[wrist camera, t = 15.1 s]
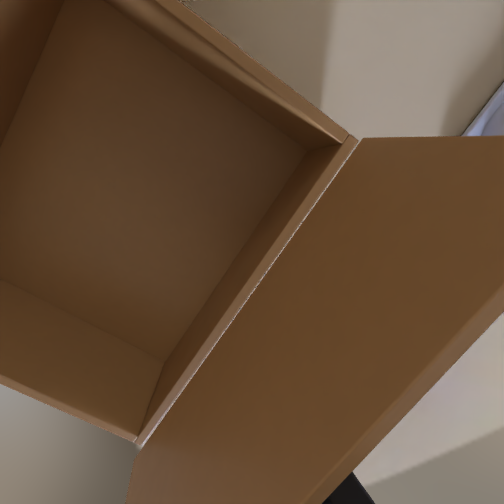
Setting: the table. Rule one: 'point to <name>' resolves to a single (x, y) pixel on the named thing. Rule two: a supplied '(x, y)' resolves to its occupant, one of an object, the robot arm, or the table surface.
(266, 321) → the flap
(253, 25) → the table surface
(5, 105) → the carton
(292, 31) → the table surface
